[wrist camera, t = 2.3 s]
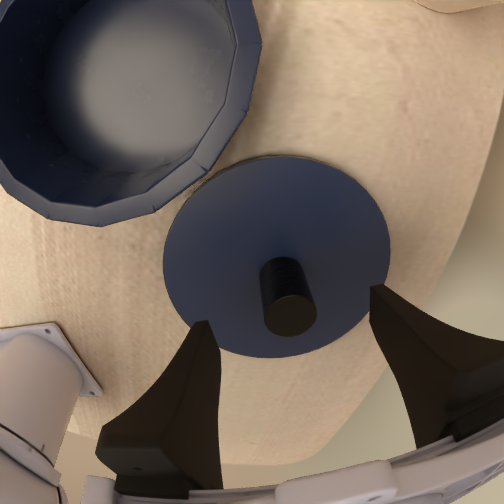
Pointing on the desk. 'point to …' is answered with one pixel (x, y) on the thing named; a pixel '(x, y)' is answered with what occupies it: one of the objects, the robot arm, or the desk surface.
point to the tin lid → (276, 256)
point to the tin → (119, 100)
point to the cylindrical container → (456, 4)
